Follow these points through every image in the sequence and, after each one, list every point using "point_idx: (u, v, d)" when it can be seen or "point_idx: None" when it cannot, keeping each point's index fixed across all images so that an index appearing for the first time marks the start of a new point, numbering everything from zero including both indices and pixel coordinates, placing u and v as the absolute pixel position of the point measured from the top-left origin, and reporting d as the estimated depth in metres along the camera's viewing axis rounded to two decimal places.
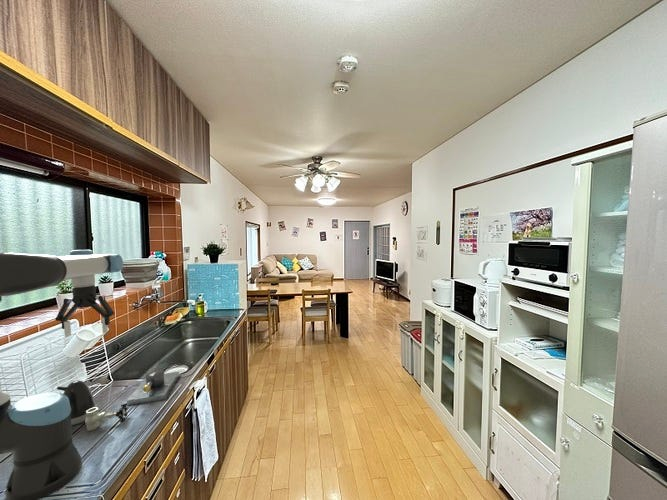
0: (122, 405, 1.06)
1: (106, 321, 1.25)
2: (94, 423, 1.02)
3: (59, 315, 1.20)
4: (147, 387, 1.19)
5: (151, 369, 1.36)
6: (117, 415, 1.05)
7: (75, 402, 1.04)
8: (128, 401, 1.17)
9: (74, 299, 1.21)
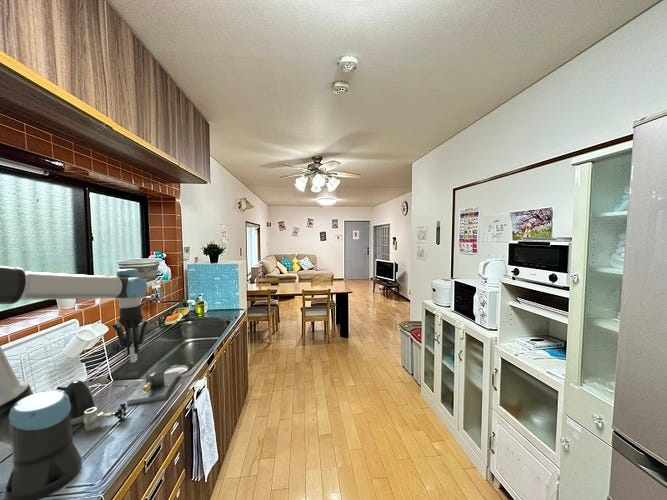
0: (121, 405, 1.06)
1: (136, 349, 1.19)
2: (93, 423, 1.02)
3: (121, 340, 1.17)
4: (147, 387, 1.19)
5: (151, 369, 1.36)
6: (116, 415, 1.05)
7: (75, 402, 1.04)
8: (128, 401, 1.17)
9: (120, 320, 1.17)
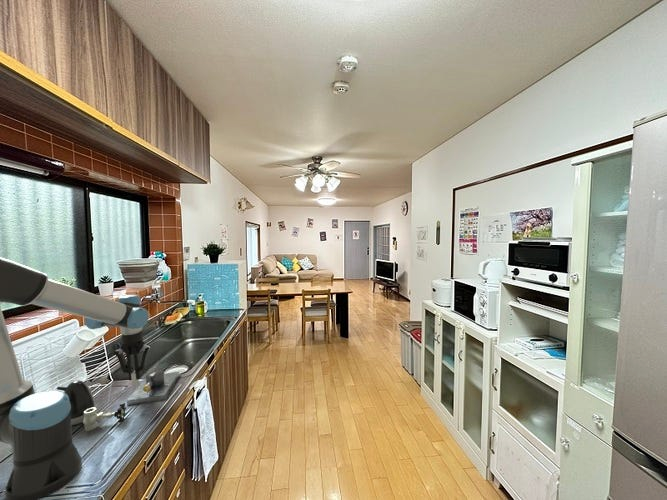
0: (120, 405, 1.06)
1: (137, 375, 1.20)
2: (92, 423, 1.02)
3: (123, 367, 1.18)
4: (147, 387, 1.19)
5: (151, 369, 1.36)
6: (115, 415, 1.05)
7: (75, 402, 1.04)
8: (128, 401, 1.17)
9: (122, 347, 1.17)
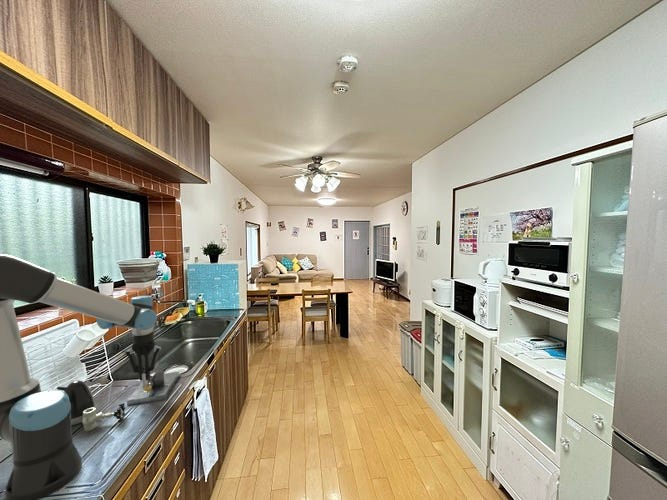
0: (120, 405, 1.06)
1: (147, 376, 1.21)
2: (92, 423, 1.02)
3: (134, 367, 1.19)
4: (148, 387, 1.19)
5: None
6: (115, 415, 1.05)
7: (75, 402, 1.04)
8: (128, 401, 1.17)
9: (133, 347, 1.19)
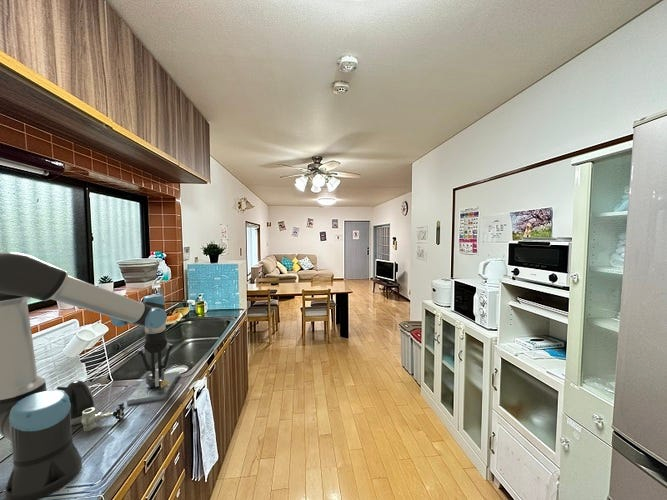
0: (119, 405, 1.06)
1: (159, 373, 1.23)
2: (91, 423, 1.02)
3: (147, 365, 1.20)
4: (166, 382, 1.23)
5: None
6: (114, 415, 1.05)
7: (75, 402, 1.04)
8: (128, 401, 1.17)
9: (146, 346, 1.20)
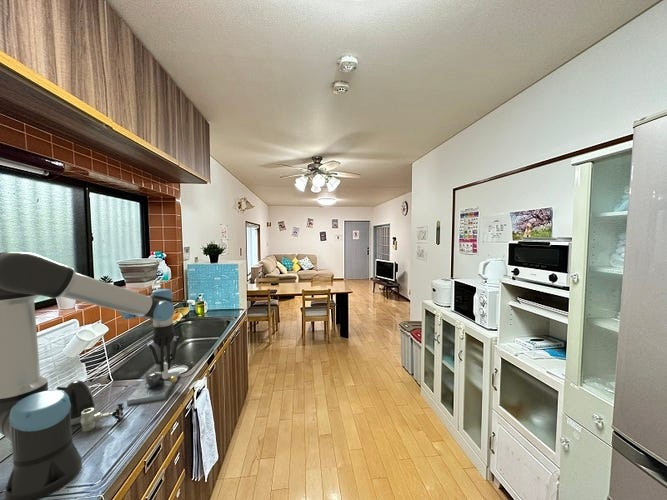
0: (118, 405, 1.06)
1: (168, 366, 1.26)
2: (90, 424, 1.02)
3: (156, 359, 1.22)
4: (176, 377, 1.27)
5: (151, 369, 1.36)
6: (113, 415, 1.05)
7: (75, 402, 1.04)
8: (128, 401, 1.17)
9: (156, 339, 1.22)
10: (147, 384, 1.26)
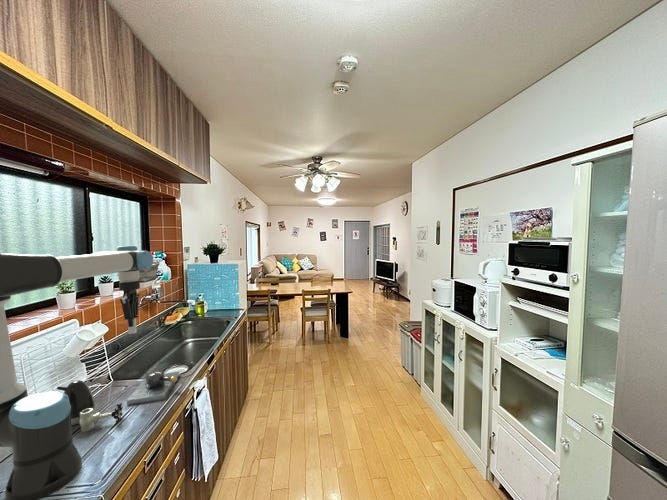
0: (117, 405, 1.06)
1: None
2: (89, 424, 1.02)
3: (130, 313, 1.23)
4: (176, 377, 1.27)
5: (151, 369, 1.36)
6: (112, 415, 1.05)
7: (75, 402, 1.04)
8: (128, 401, 1.17)
9: (129, 294, 1.23)
10: (147, 384, 1.26)
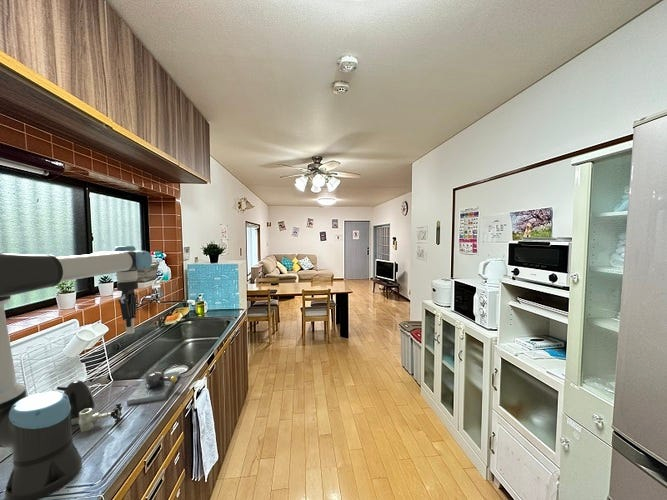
0: (117, 405, 1.06)
1: None
2: (88, 424, 1.02)
3: (128, 313, 1.23)
4: (176, 377, 1.27)
5: (151, 369, 1.36)
6: (112, 415, 1.05)
7: (75, 402, 1.04)
8: (128, 401, 1.17)
9: (127, 294, 1.23)
10: (147, 384, 1.26)
